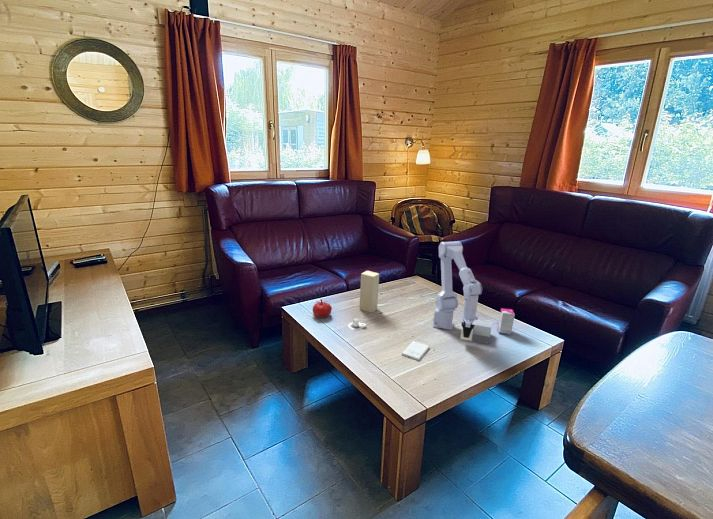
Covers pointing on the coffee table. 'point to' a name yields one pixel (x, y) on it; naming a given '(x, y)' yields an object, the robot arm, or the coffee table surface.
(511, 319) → the supplement box
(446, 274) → the robot arm
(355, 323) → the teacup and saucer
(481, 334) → the gray block
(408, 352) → the external hard drive
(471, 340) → the cream cube
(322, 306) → the pomegranate
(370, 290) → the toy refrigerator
